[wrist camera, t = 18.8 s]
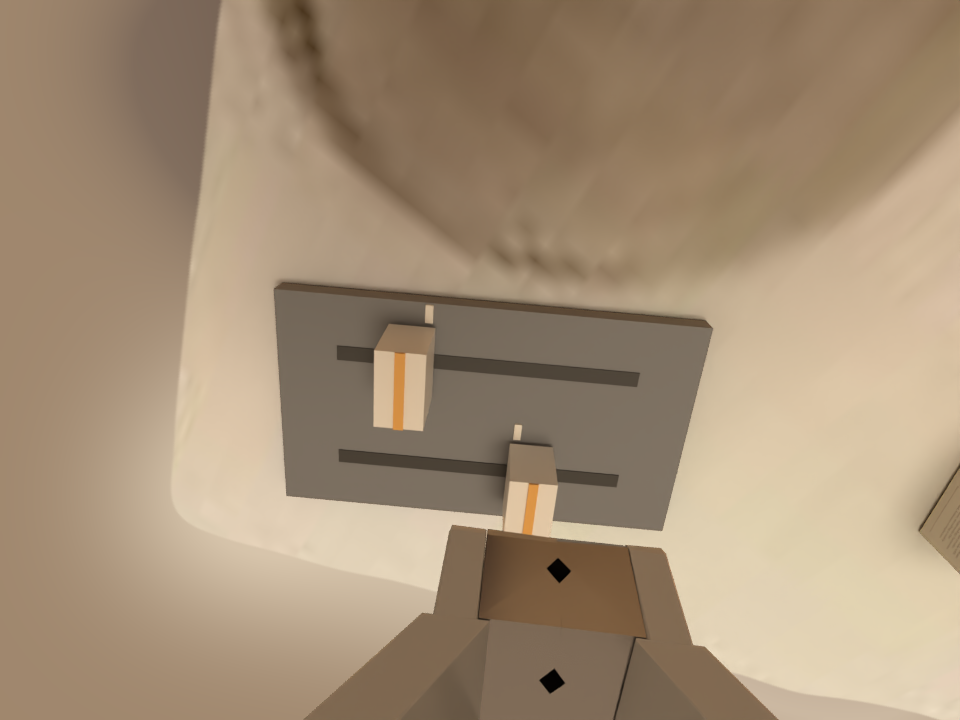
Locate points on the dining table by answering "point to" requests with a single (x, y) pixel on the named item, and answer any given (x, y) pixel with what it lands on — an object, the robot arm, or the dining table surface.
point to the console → (488, 403)
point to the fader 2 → (530, 490)
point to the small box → (946, 524)
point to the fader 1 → (403, 377)
